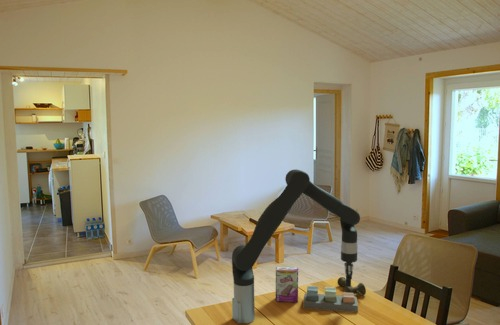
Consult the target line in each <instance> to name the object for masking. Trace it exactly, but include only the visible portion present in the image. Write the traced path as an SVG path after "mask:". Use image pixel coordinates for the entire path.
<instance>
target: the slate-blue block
mask: <svg viewBox="0 0 500 325" xmlns="http://www.w3.org/2000/svg"><path fill="white" fill-rule="evenodd" d="M306 287H307V288H306V293H307V300H313V301H318V294H319V287H318V285H317V286H316V285H315V286H314V285H307V286H306Z"/></svg>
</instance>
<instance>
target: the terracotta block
mask: <svg viewBox="0 0 500 325" xmlns="http://www.w3.org/2000/svg"><path fill="white" fill-rule="evenodd" d="M342 296H343V303H352V304H354V296H355V294H354V293H346V292H345V291H344V292H342Z"/></svg>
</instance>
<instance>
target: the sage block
mask: <svg viewBox="0 0 500 325" xmlns="http://www.w3.org/2000/svg"><path fill="white" fill-rule="evenodd" d="M324 293H325V301H328V302H336V295H337V290H336V287H334V286H333V287H331V286H325V287H324Z"/></svg>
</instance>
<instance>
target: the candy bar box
mask: <svg viewBox="0 0 500 325" xmlns="http://www.w3.org/2000/svg"><path fill="white" fill-rule="evenodd" d="M275 302H277V303H278V302H279V303H299V267H292V266H289V267H288V266H276V267H275Z"/></svg>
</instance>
